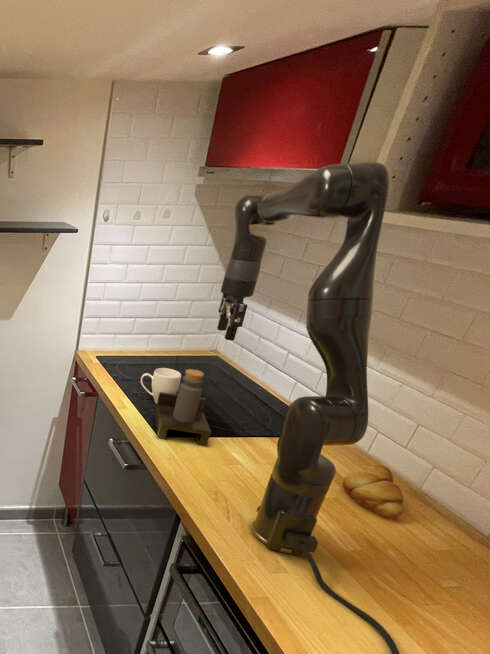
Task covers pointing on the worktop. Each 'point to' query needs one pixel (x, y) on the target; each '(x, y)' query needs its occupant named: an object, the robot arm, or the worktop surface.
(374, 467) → the bread roll
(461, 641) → the worktop surface
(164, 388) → the mug
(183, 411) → the bottle
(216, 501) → the worktop surface
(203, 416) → the dark brown legged piece
